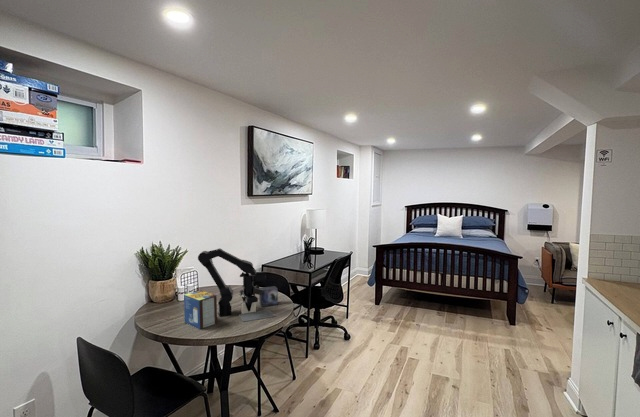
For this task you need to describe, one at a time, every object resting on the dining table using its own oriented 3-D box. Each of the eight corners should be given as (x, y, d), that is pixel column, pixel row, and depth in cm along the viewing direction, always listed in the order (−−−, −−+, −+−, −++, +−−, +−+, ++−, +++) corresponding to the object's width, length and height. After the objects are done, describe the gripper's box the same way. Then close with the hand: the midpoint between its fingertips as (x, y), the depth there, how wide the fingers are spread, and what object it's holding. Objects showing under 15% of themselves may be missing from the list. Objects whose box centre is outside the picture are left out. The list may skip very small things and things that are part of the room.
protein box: (201, 317, 190) (201, 290, 190) (217, 323, 180) (217, 295, 180) (184, 322, 182) (183, 294, 181) (199, 330, 172) (199, 299, 172)
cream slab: (242, 314, 194) (242, 304, 194) (241, 313, 196) (241, 303, 196) (255, 312, 198) (255, 302, 198) (254, 311, 200) (254, 301, 199)
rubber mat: (243, 322, 183) (243, 321, 183) (238, 315, 193) (238, 314, 193) (275, 316, 191) (275, 315, 191) (268, 310, 201) (268, 309, 201)
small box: (261, 307, 207) (261, 290, 206) (259, 304, 213) (258, 287, 212) (278, 305, 211) (278, 288, 210) (275, 302, 217) (275, 285, 216)
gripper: (266, 286, 191) (266, 313, 192) (257, 278, 208) (257, 303, 209) (247, 288, 186) (247, 316, 187) (239, 280, 203) (239, 306, 204)
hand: (248, 310), depth 197 cm, fingers closed on cream slab, 2 cm apart
